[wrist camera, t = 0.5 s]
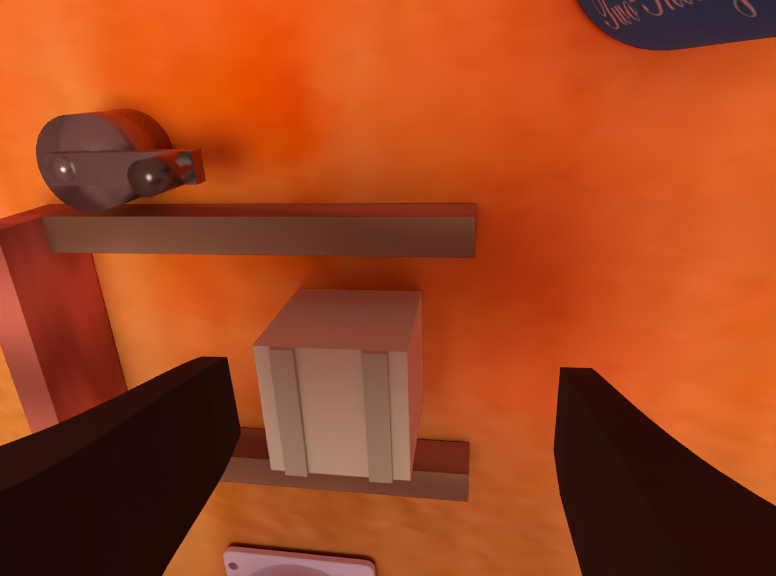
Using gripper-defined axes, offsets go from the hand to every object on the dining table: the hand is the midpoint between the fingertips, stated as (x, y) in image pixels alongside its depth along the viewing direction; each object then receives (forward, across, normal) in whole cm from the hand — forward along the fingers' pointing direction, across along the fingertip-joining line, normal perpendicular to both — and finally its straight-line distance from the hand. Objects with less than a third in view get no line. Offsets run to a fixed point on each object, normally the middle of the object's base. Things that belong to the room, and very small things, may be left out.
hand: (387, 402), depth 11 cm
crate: (+10, +3, +4) cm, 11 cm away
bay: (+10, +6, +4) cm, 12 cm away
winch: (+9, +10, -4) cm, 14 cm away
